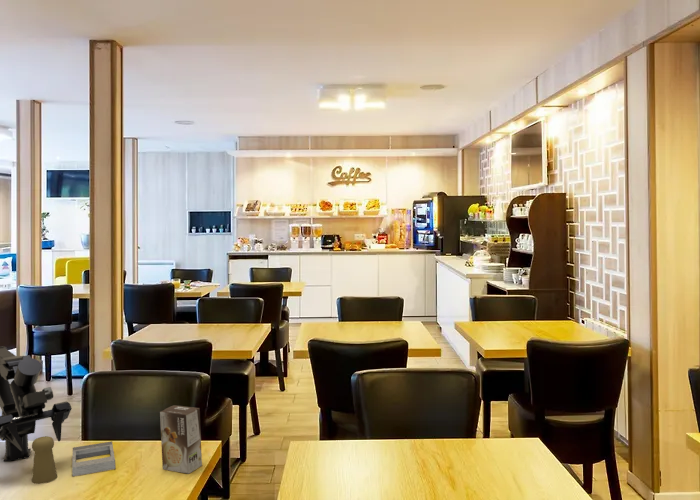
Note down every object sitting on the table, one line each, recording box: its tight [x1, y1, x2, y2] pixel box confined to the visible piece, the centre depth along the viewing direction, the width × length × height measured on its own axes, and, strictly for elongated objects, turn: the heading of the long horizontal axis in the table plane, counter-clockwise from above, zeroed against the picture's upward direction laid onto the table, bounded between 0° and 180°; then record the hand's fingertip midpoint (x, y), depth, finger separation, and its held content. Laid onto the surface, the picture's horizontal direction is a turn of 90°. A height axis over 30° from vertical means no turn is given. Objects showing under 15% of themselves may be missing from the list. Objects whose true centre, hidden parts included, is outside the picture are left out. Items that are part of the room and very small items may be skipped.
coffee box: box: [159, 404, 203, 474], centre depth 164 cm, size 9×6×16 cm
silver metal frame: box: [71, 441, 116, 477], centre depth 169 cm, size 16×11×2 cm
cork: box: [31, 435, 58, 485], centre depth 158 cm, size 6×6×11 cm
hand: (41, 445), depth 159 cm, fingers open, 9 cm apart
